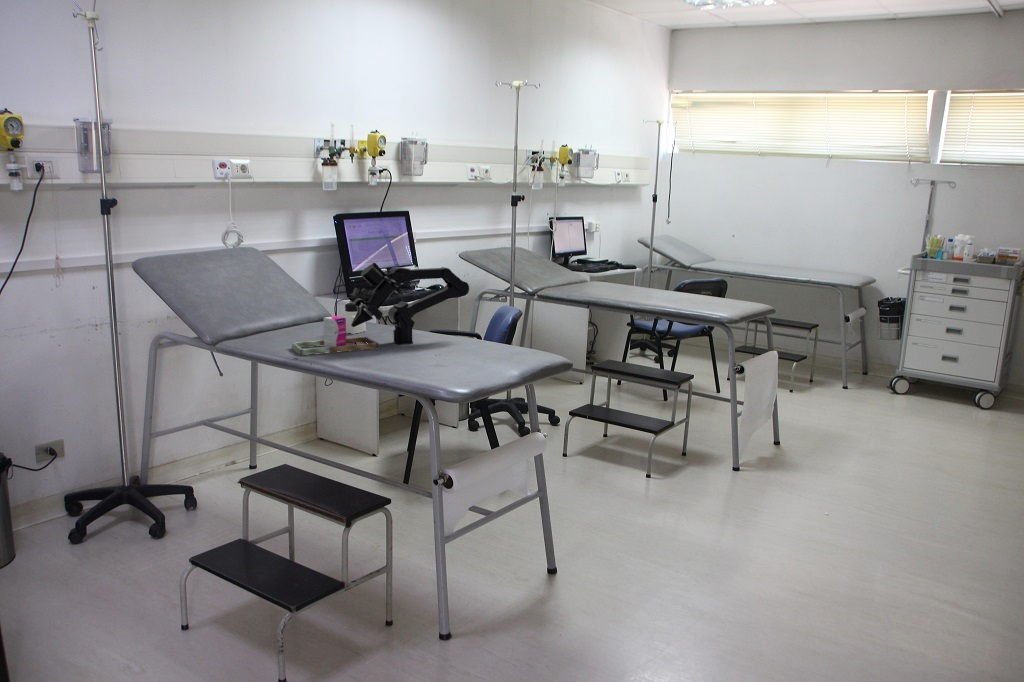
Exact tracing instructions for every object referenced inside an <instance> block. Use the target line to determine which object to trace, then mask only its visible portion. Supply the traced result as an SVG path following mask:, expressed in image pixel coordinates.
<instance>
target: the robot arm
mask: <svg viewBox="0 0 1024 682" xmlns="http://www.w3.org/2000/svg"><path fill="white" fill-rule="evenodd" d="M360 277H362V278H363V279H364V280H365V281H366V282H367V283H368V284H369V285H370V286H372V287H374V286H375V288H374V289H373V290H370V291H369V290H368V288H364V287H362V289H360V288H358V287H354V289H353V292H352V294H351V296H353V297H355V299H354V300H353V301H352V302H353V303H354V304H355V305H356V307H357V314H356V316H355V318H354V320H353V322H352V324H351V326H352V327H355V326H357V325H360V324H362V323H364V322H366V323H367V322H369V321H371V320H374V318H373V317H375V319H376V320H377V321H380V320H382V318H383V312H382V311H381V310H380V308H381V307H382V305H386V304H387V300H388V299H389V297H391V295H392V294H393V293H397V294H401V286H400V285H403V284H406V283H410V282H413V281H416V280H432V279H433V280H434V279H436V280H437V279H442V280H443V282H444V283H445V286H444V287H442V289H440V290H437V291H435V292H433V293H430V294H428V295H426V296H423V297H421V298H419V299H417V300H414V301H412V302H409V303H408V302H406V301H403V300H401V301H400V302H398V303H397V304H393V305H392V307H390V308H389V310H388V313H387V315H388V319H389V320H390V321H392V323H393V326H394V329H393V330H392V331H393V332H392V333H393V334H392V335H393V336H392V337H393V342H394V343H395V345H400V344H403V345H405V344H407V345H408V344H414V341H413V328H414V326H415V321H414V320H413V319H412V318H413V317H414V316H415V315H416V314H418V313H420V312H422V311H425V310H427V309H429V308H432V307H434V306H436V305H438V304H440V303H443V302H445V301H447V300H451V299H458V298H461V297H465V296H467V295H468V294H469V291H470V285H469V284H468V282H466V281H464V280H462V279H461V278H460V277H458V276H457V275H456V274H455V273H454V272H453V271H452V270H451V269H450V268H449V267H444V266H443V267H433V268H430V267H429V268H408V267H402V266H393V267H391V268H390V269H389V270H382V268H380V267H379V265H378V264H377V263H376V262H372V263H371V264H369V265H367V267H364V269H363V270H362V272H361V273H360ZM387 279H388V280H387ZM395 283H397V284H399V285H396V284H395Z"/></svg>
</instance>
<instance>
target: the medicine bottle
mask: <svg viewBox="0 0 1024 682" xmlns="http://www.w3.org/2000/svg"><path fill="white" fill-rule="evenodd" d="M353 302H354V301H348V302H346V303H344V314H341V315H339V317H344V318H346V334H348V333H351V334H350V335H356V334H355V333H358V334H361V333H360V332H362V333H364V332H363V331H367V327H366V326H367V325H366V323H367V321H366V322H364V323H362V324H360V325H357V326H355V327H352V326H351V324H352V322H353V320H354V318H355V316H356V314H357V307H356V305H355V304H354V303H353Z"/></svg>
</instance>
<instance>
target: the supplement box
mask: <svg viewBox="0 0 1024 682" xmlns="http://www.w3.org/2000/svg"><path fill="white" fill-rule="evenodd" d="M346 338H347V333H346V318H344V317H340V315H333V316H326V317H325V316H324V317H323V340H324V346H323V348H325V347H337V346H346Z"/></svg>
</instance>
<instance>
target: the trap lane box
mask: <svg viewBox="0 0 1024 682" xmlns="http://www.w3.org/2000/svg"><path fill="white" fill-rule="evenodd" d="M366 342H367V343H368V344H367V343H366ZM355 343H356V344H358V345H356V344H355ZM317 345H324V339H323V340H313V341H312V340H311V341H298V342H297V341H296V342H291V349H292V350H293V349H294V350H293V351H294V352H296V354H298V355H299V356H300V355H301V356H300V357H304V356H303V355H306V356H310V355H309V354H315V353H325V352H337V351H349V352H351V351H350V350H360V351H362V350H361V349H371V350H377V349H376V348H379V349H380V344H379V342H377V341H375V340H374V339H372V338H371V337H369V336H358V337H346V346H337V347H325V348H324V347H313V348H310V347H309V346H317ZM302 347H308V348H306V349H305V348H302Z"/></svg>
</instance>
